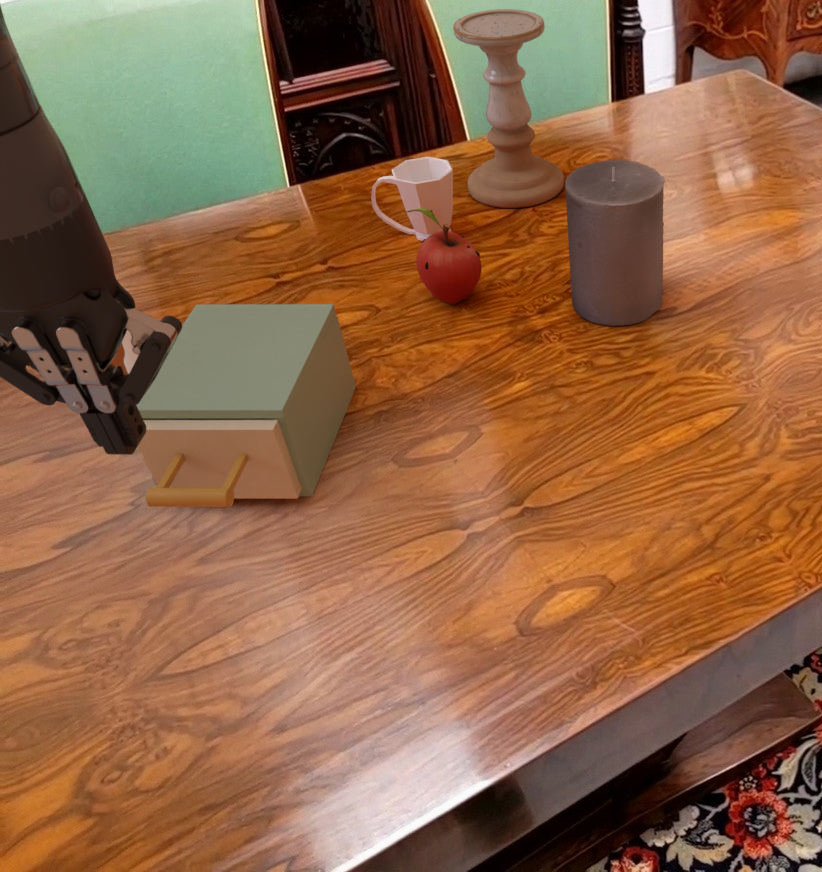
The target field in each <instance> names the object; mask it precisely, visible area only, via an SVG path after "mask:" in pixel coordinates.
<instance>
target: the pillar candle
mask: <svg viewBox="0 0 822 872" xmlns="http://www.w3.org/2000/svg"><path fill="white" fill-rule="evenodd" d="M665 182H666V179H665V177H664V176H663V175H661V174H660V173H659V171H657V170H656V169H655V168H653V167H651V166H649V165H647V164H644V163H641V162H639V161H632V160H625V159H624V160H623V159H622V160H621V159H612V160H599V161H595V162H591V163H587V164H584V165H582V166H580V167H578V168H576V169H574V170H573V171H571V172H570V173H569V175H567V177H566V179H565V180H564V190H565V206H566V222H567V225H566V226H567V236H568V238H567V239H568V240H567V241H568V242H567V243H568V259H569V276H570V289H571V291H570V292H571V303H572V307H573V309H574V311H575V312H576V314H578V315H579V316H580V317H581V318H583V319H584V320H586V321H589V322H591V323H593V324H597V325H601V326H611V327H621V326H631V325H635V324H638V323H642V322H645V321H646V320H648V319H649V318H650V317H651V316H653V314H655V313H656V312H657V311H658V310H659V309H660V308H661V306H662V305H663V300H664V299H663V295H664V225H665V223H664V197H665V196H664V195H665V194H664V189H665V186H664V185H665Z"/></svg>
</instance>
